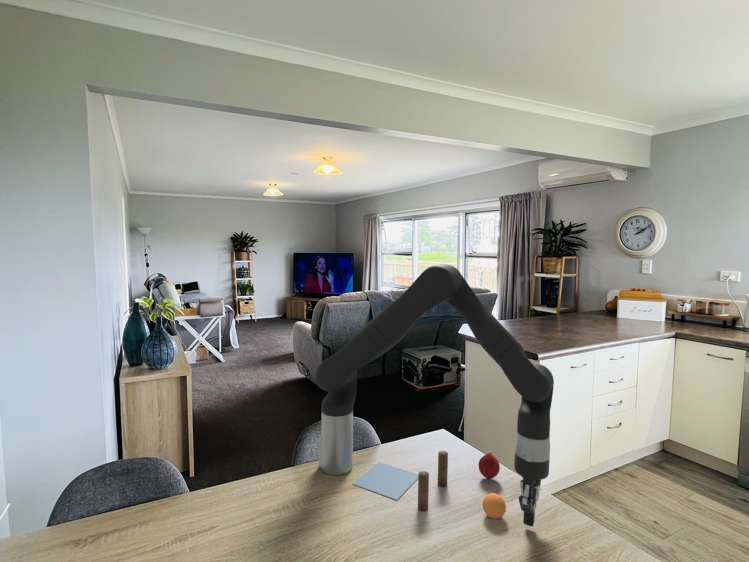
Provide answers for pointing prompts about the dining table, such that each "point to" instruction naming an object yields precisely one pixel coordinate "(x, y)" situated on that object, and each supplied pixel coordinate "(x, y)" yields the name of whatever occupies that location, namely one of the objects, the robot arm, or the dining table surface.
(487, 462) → the onion
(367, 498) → the dining table surface
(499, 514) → the ball
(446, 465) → the post
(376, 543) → the dining table surface
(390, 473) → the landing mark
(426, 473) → the post
